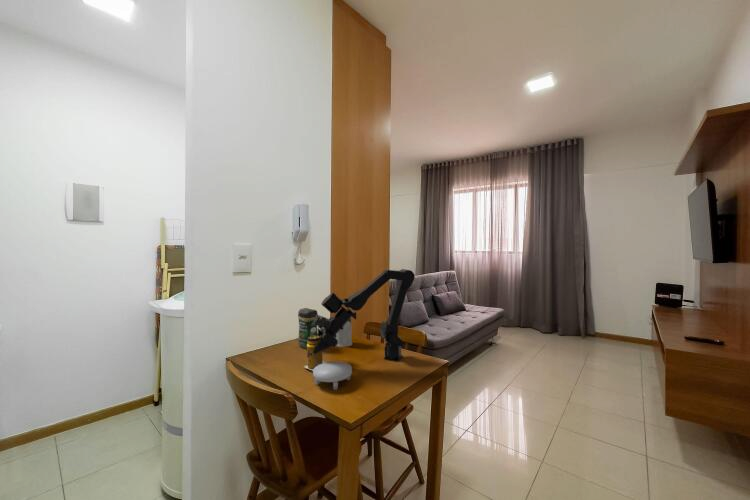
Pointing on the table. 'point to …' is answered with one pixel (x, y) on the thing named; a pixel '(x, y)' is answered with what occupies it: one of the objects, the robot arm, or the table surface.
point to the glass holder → (344, 335)
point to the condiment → (313, 358)
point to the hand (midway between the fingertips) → (313, 350)
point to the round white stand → (332, 373)
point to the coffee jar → (306, 325)
